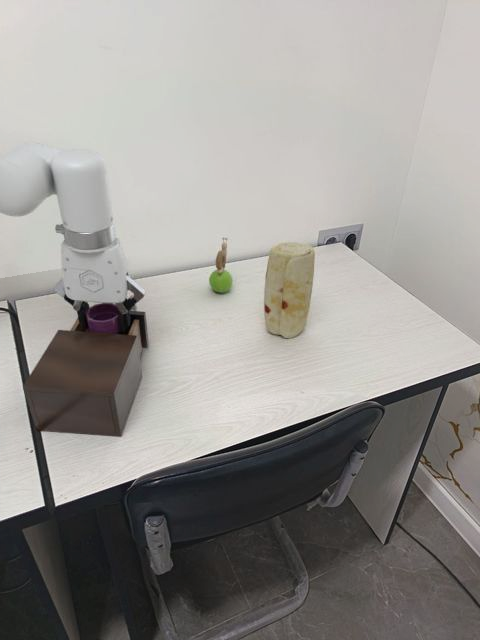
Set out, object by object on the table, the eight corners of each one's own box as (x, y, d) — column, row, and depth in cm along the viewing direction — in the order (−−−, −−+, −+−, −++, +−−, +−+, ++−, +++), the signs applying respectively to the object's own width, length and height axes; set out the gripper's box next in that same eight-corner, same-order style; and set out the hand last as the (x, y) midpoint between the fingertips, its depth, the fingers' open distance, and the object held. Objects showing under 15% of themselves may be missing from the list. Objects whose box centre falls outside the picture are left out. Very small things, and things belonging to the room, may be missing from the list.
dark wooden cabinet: (68, 371, 91) (58, 329, 85) (142, 377, 91) (137, 335, 85) (36, 430, 79) (22, 386, 74) (121, 436, 80) (113, 393, 74)
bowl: (84, 337, 87) (80, 320, 85) (94, 318, 92) (91, 301, 90) (118, 339, 87) (115, 322, 85) (127, 320, 92) (124, 304, 90)
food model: (302, 321, 109) (313, 236, 96) (310, 339, 104) (323, 252, 91) (258, 324, 107) (264, 238, 94) (265, 342, 102) (272, 254, 89)
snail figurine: (235, 284, 119) (236, 238, 112) (229, 298, 114) (230, 251, 107) (213, 281, 120) (213, 235, 112) (206, 295, 115) (206, 247, 107)
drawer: (94, 323, 102) (88, 290, 97) (154, 327, 102) (152, 295, 97) (61, 386, 87) (52, 351, 82) (131, 391, 87) (127, 356, 82)
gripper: (25, 240, 75) (50, 335, 86) (139, 248, 75) (149, 342, 86) (44, 220, 81) (65, 312, 92) (150, 227, 81) (158, 318, 92)
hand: (105, 326), depth 89 cm, fingers closed on bowl, 6 cm apart
